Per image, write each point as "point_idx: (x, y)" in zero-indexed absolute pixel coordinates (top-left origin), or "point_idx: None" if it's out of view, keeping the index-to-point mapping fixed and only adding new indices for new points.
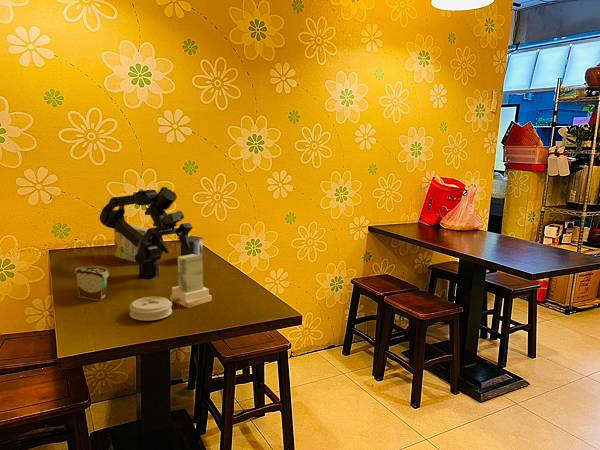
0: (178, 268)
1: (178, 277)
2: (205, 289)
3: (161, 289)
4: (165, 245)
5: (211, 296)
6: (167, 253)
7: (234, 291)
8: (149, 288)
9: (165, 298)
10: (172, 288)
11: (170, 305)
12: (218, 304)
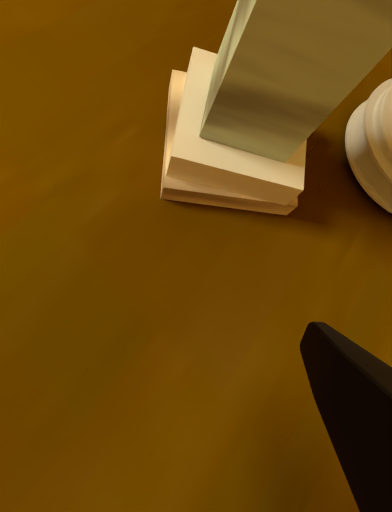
0: (354, 80)
1: (316, 125)
2: (207, 57)
3: (231, 364)
4: (386, 383)
5: (174, 72)
6: (307, 342)
7: (5, 72)
8: (266, 428)
9: (385, 121)
10: (301, 188)
11: (386, 84)
12: (182, 45)
